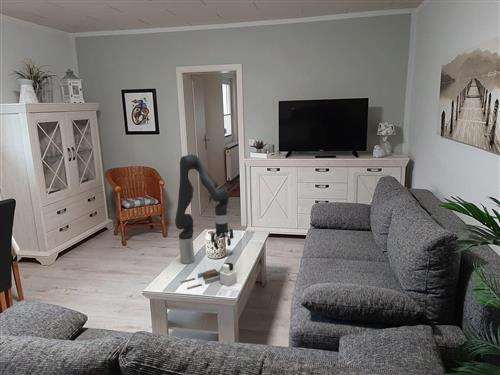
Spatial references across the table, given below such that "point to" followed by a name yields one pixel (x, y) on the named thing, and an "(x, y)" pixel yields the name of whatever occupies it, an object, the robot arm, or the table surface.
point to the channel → (209, 278)
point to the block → (210, 274)
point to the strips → (191, 286)
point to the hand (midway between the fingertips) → (222, 246)
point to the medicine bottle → (228, 275)
